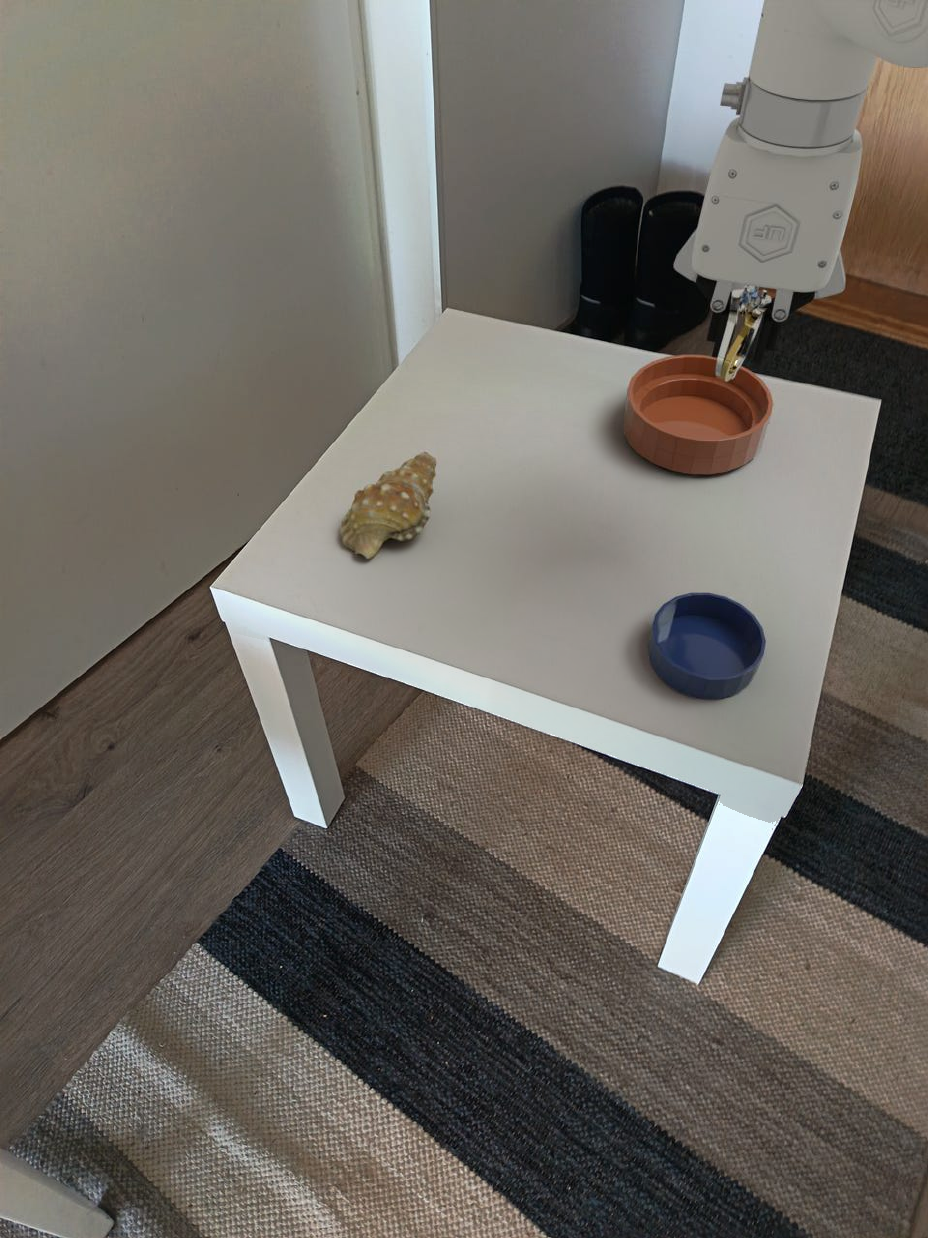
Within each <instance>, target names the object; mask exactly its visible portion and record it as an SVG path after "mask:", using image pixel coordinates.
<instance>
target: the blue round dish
mask: <svg viewBox="0 0 928 1238" xmlns="http://www.w3.org/2000/svg"><path fill="white" fill-rule="evenodd" d="M766 644H767V639H766V636H765V633H764V629H763V626H762V624H761V623H760V622H759V620H758V619H757V617H756V616H755V614H754V613H752V611H750V610H749V609H748V608H747V607H746V606H744V605H743V604H742V603H740V602H738V601H736V600H734V599H732V598H730V597H728V596H725V595H721V594H718V593H711V592H688V593H683V594H681V595H677V596H675V597H673V598H671V599H669V600H668V601H666V602H665V603H663V604H662V606H661V607H660V608H659V609H658V610H657V612H656V613H655V615H654V617H653V622H652V626H651V629H650V634H649V638H648V642H647V657H648V660H649V664H650V666H651V669H652V670H653V671H654V673H655V675H656V676H657V678H659V679H660V680H661V681H662V682H663V683H664V684H665V685H667V686H668V687H669V688H671V689H672V690H674V691H675V692H677V693H680V694H682V695H684V696H687V697H691V698H693V699H698V700H707V701H708V700H709V701H710V700H711V701H712V700H722V699H723V700H724V699H726V698H727V699H728V698H731V697H733V696H735V695H737V694H739V693H741V692H742V691H744V690H745V689H746V688H747V687H748V686H749V685H750V684H751V683H752V681H753V679H754V677H756V675H757V672H758V670H759V667H760V665H761V662H762V660H763V658H764V656H765V649H766Z"/></svg>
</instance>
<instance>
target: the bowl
mask: <svg viewBox="0 0 928 1238" xmlns="http://www.w3.org/2000/svg"><path fill="white" fill-rule="evenodd" d="M717 359H718V358H714V357H712V355H711V356H710V355H706V354H705V355H704V354H677V355H670V356H665V357H662V358H659V359H656V360H653V361H651V362H649V363H647V364H645V365H643V366H642V367H641V368H639V369H638V370H637V371H636V372H635V374H634V375H633V376H631V379H630V381H629V384H628V387H627V391H626V399H625V405H624V412H623V419H622V426H623V427H622V428H623V429H622V430H623V434H624V436H625V438H626V440H627V442H628V444H629V446H630V447H632V448H633V450H634V451H636V452H637V454H638V455H640V456H641V457H642V458H644V459H646V460H647V461H649V462H650V463H653V464H654V465H657V466H659V467H662V468H664V469H667V470H669V471H673V472H678V473H682V474H690V475H716V474H722V473H727V472H729V471H732V470H736V469H738V468H740V467H742V466H744V465H746V464H747V463H749V462H750V461H752V459H754V458H755V457H756V455H757V454H758V453H759V452H760V450H761V448H762V446H763V443H764V439H765V436H766V433H767V430H768V426H769V423H770V420H771V416H772V413H773V408H774V400H773V396H772V393H771V390H770V389H769V387H768V386H767V385H766V383H765V382H764V380H763V379H761V378H760V377H759V376H758V375H757V374H756V373H754V372H753V371H752V370H750V369H748V368H746V367H745V366H743V365H741V366H740V368H739V369H738V371H737V372H736V375H735V377H734V378H733V379H730V380H729V381H727V382H726V381H723V380H721V379H719V378H717V377H716V364H717Z"/></svg>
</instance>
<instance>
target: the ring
mask: <svg viewBox="0 0 928 1238" xmlns="http://www.w3.org/2000/svg"><path fill="white" fill-rule="evenodd" d="M759 289H760V287H757V286H754V288H753V289H751V288H750V287H749V286H748V285H744V287H743V288H742V289H734V290H732V291H731V292H732V295H731V306H730V313H729V318H728V322H727V326H726V330H725V334H724V337H723V341H722V344H721V347H720V351H719V355H718V359H717V364H716V377H717V378H719V379H721V380H723V381H726V382H727V381H729V380H730V379H733V378H734V377H735V375H736V372H737V371H738V369H739V368H740V366H743V365H742V364H743V363H744V361H745V359H746V357H747V356H748V354H749V351H750V350H751V347H752V345H753V342H754V339H755V337H756V335H757V333H758V331H759V330H758V329H759V328H760V325H761V322H762V318H763V314H764V311H765V310H766V309H767V308H768V307H769V306H770V304H771V299H772V296H770V295H769V294H767V293H768V290H766V289H762V292H761V294H758V292H759ZM739 314H740V316H742V317H743V316H745V317H744V325H743V327H742V328H741V330H740V332H739V333H738V335H737V337H736V338H735V340H734V342H733V344H732V341H733V339H734V335H735V332H736V327H737V323H738V318H739Z"/></svg>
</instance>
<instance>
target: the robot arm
mask: <svg viewBox="0 0 928 1238" xmlns="http://www.w3.org/2000/svg"><path fill="white" fill-rule="evenodd" d="M878 58H879V59H881V60H883V61H885V62H887V63H890V64H892V65H895V66H899V67H902V68H908V69H925V68H928V0H763V4H762V8H761V13H760V19H759V23H758V28H757V34H756V38H755V42H754V47H753V51H752V57H751V61H750V67H749V71H748V76H747V77H745V76H744V77H743V79H742V81H736V82H735V83H726V82H724V85H723V89H722V94H721V99H720V105H719V106H720V107H729V108H730V110H736V111H735V116H737V117H735V118H734V119H732V121H730V123H729V124H728V126H727V128H726V129H725V132H724V134H723V137H722V140H721V141H720V144H719V146H718V149H717V152H716V155H715V158H714V161H713V164H712V168H711V171H710V175H709V178H708V181H707V186H706V190H705V194H704V198H703V202H702V206H701V211H700V214H699V219H698V223H697V227H696V229H695V230H694V231H693V232H692V234H691V235H690V237H689V238H688V240H686V242H685V244H684V245H683V246H682V248H681V249H680V250H679V251H678V253H677V254H676V255H675V260H674V262H673V269H674V270H675V271H676V272H677V273H679V274H680V275H682V276H683V277H685V278H686V279H688V280H689V281H692V282H694V283H695V285H696V287H697V288H698V289H699V291H700V292H701V293H702V294H703V296H704V298H706V299H707V301H708V303H710V306H709V307H710V310H711V311H712V314H711V319H710V323H709V328H708V332H707V337H706V342H710V343H714V345H713V350H712V353H711V357H714V358H718V355H719V351H720V347H721V344H722V341H723V337H724V334H725V330H726V326H727V322H728V318H729V313H730V306H731V295H732V292H733V291H732V289H733V286H734V284H737V285H744V286H750V287H755V286H757V287H759V288H764V289H771V290H772V289H773V290H776V291H775V295H774V297H771V304H770V306H769V307H768V308H767V309H766V310H765V311H764V312H763V315H762V318H761V321H760V324H759V328H758V329H759V330H758V332H757V333H758V334H757V337H756V341H755V343H754V349H753V354H752V360H751V362H752V363H753V364H754V365H759V366H761V365H762V360H763V357H764V354H765V351H766V352H767V351H768V352H774V349H775V346H776V343H777V339H778V335H779V333H780V329H781V326H782V322H784V321H786V320H787V319H788V317H789V315H791V314H792V313H794V312H796V311H798V310H799V309H801V308H803V307H804V306H807V305H808V304H809V303H811V302H813V300H816V299H818V300H820V299H825V298H827V297H832V296H836V295H839V294H841V293H843V292H844V291H845V289H846V279H847V278H846V277H847V276H846V272H845V268H844V263H843V257H842V252H841V247H842V243H843V239H844V236H845V232H846V228H847V225H848V221H849V218H850V213H851V209H852V206H853V202H854V197H855V194H856V190H857V185H858V181H859V175H860V169H861V164H862V163H861V162H862V156H863V144H864V143H863V140H862V135H861V133H860V132H859V131H858V129H856V128H857V125H858V121H859V119H860V115H861V111H862V109H863V105H864V102H865V98H866V96H867V92H868V89H869V85H870V83H871V80H872V76H873V73H874V71H875V70H874V69H875V67H876V63H877V59H878Z"/></svg>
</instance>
